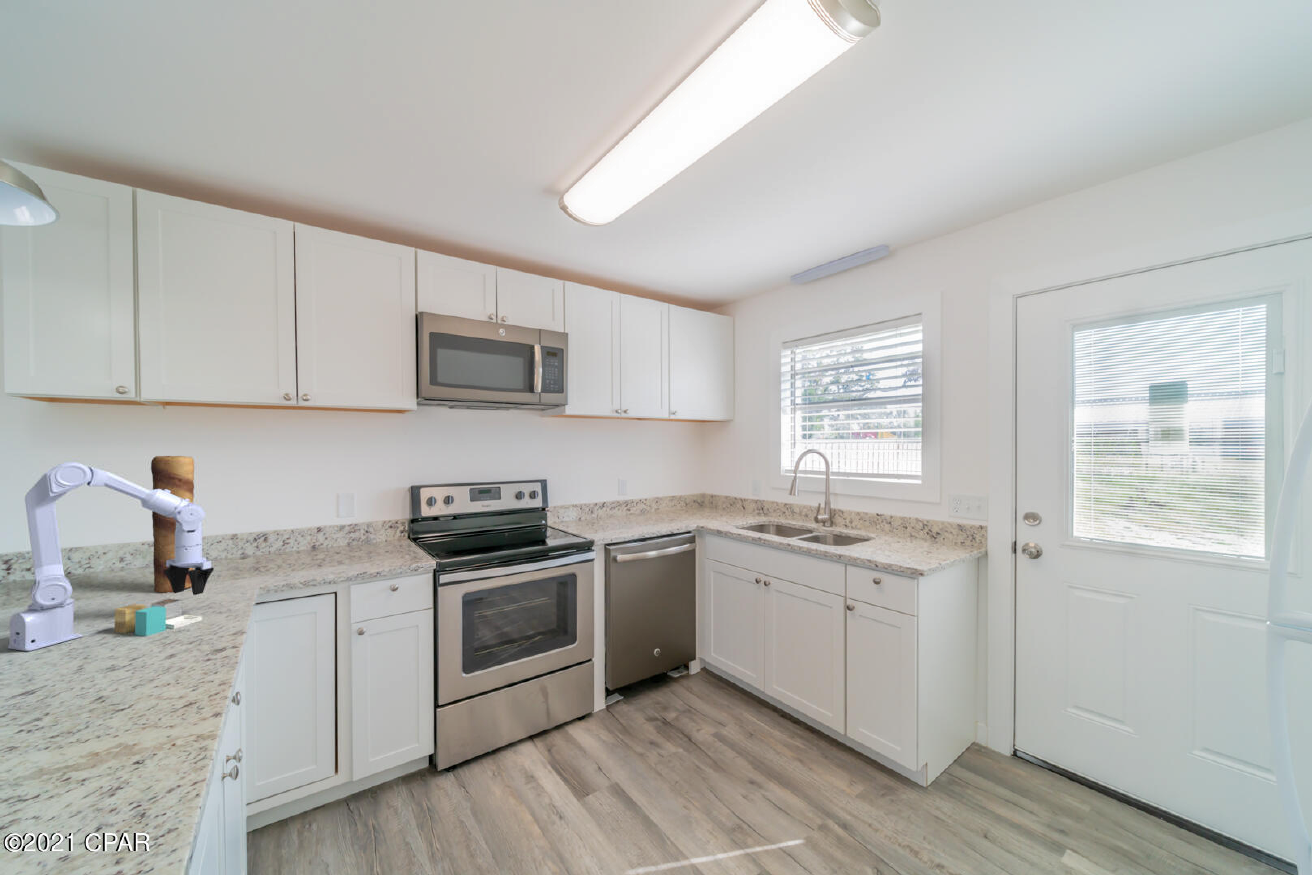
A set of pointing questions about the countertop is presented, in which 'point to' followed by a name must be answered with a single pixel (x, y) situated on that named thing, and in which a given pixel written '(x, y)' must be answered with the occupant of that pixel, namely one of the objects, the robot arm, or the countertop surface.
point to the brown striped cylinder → (178, 480)
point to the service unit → (170, 607)
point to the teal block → (150, 621)
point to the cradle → (182, 621)
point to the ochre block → (126, 618)
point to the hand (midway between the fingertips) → (188, 593)
